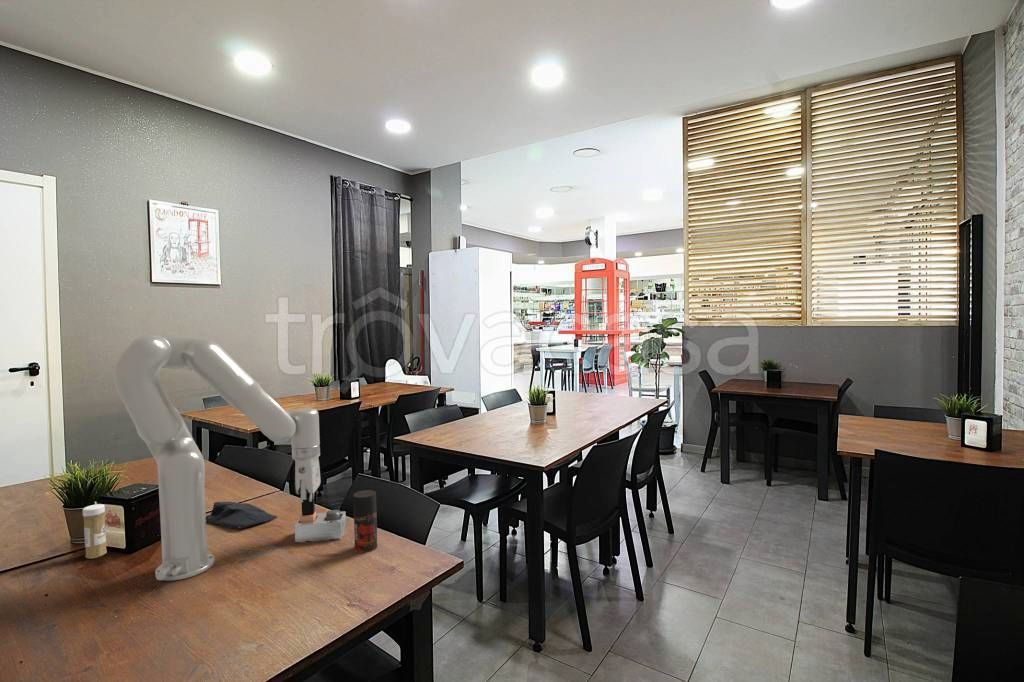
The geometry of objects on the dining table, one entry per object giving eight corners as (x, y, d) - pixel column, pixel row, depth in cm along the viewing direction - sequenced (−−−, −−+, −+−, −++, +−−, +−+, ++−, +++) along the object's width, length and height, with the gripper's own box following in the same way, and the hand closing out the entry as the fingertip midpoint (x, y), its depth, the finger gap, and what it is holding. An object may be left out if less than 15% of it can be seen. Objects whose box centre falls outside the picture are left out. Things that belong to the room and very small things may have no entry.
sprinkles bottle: (105, 556, 133) (103, 507, 133) (83, 561, 131) (81, 511, 130) (108, 549, 137) (105, 502, 137) (86, 554, 135) (83, 505, 134)
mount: (341, 538, 142) (340, 519, 141) (295, 542, 140) (294, 523, 139) (345, 527, 149) (345, 509, 149) (302, 531, 147) (301, 512, 147)
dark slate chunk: (232, 537, 145) (232, 521, 145) (197, 521, 158) (197, 506, 158) (282, 519, 158) (281, 504, 158) (246, 505, 170) (245, 492, 170)
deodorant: (350, 549, 135) (348, 495, 134) (366, 541, 140) (364, 488, 139) (366, 554, 132) (364, 498, 131) (382, 545, 137) (380, 491, 137)
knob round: (339, 531, 143) (338, 514, 143) (325, 532, 143) (325, 515, 143) (341, 525, 147) (341, 509, 147) (328, 526, 147) (327, 510, 146)
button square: (313, 533, 142) (313, 516, 142) (300, 534, 142) (299, 517, 142) (316, 528, 146) (316, 511, 146) (303, 529, 145) (303, 512, 145)
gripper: (313, 457, 136) (316, 523, 137) (325, 444, 151) (327, 503, 152) (284, 459, 135) (287, 525, 136) (299, 446, 150) (301, 505, 150)
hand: (308, 513), depth 144 cm, fingers closed
